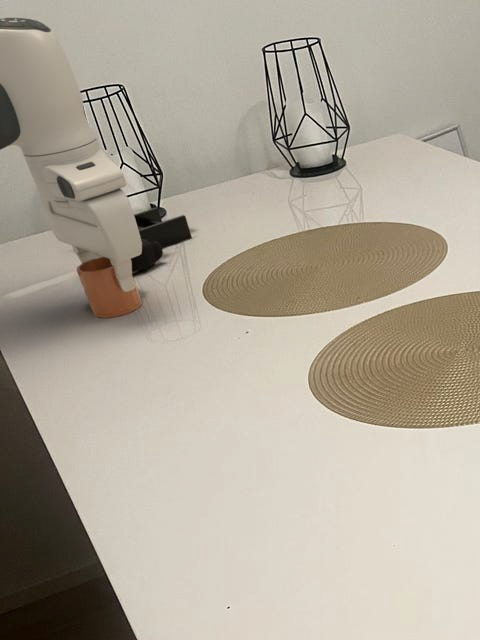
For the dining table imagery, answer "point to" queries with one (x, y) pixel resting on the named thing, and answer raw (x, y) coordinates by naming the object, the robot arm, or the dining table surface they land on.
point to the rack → (162, 228)
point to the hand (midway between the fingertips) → (112, 283)
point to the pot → (106, 289)
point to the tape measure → (147, 255)
